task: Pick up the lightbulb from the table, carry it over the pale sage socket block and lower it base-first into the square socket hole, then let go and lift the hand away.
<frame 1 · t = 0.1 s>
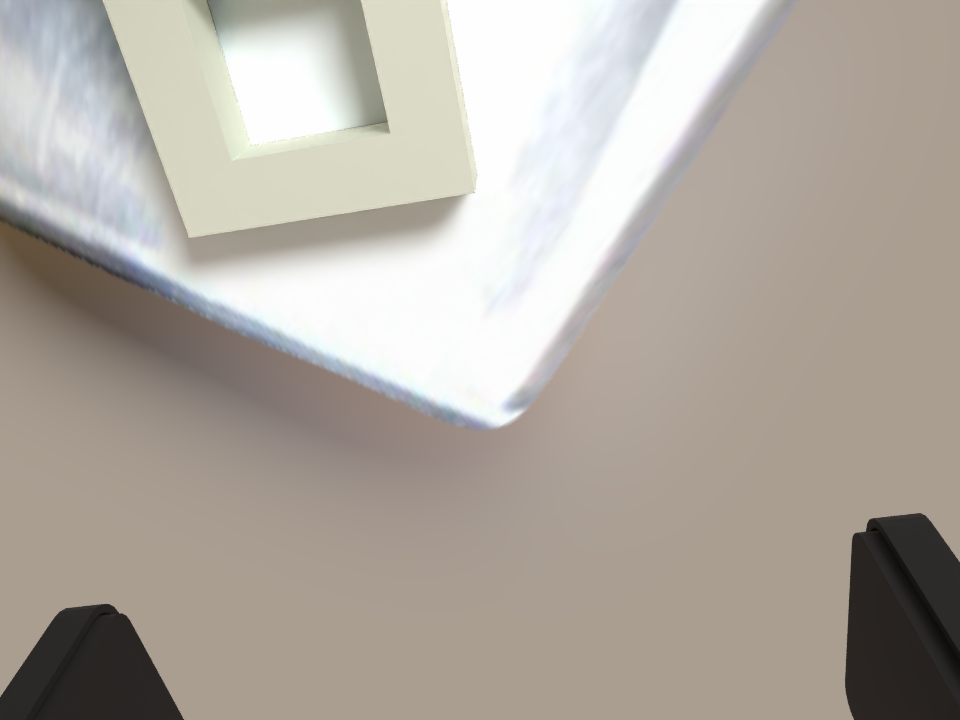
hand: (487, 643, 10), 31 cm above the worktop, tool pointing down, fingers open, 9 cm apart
socket block: (303, 51, 36), on the worktop
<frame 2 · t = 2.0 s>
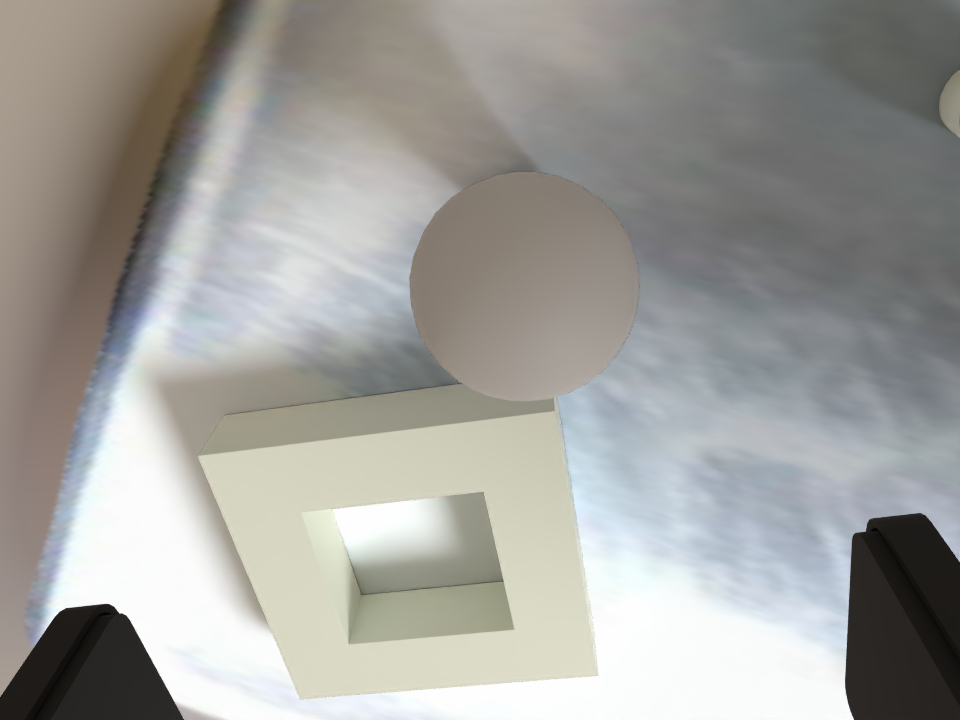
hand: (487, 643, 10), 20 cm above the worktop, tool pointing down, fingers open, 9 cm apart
lightbulb: (525, 200, 28), on the worktop
socket block: (420, 526, 35), on the worktop
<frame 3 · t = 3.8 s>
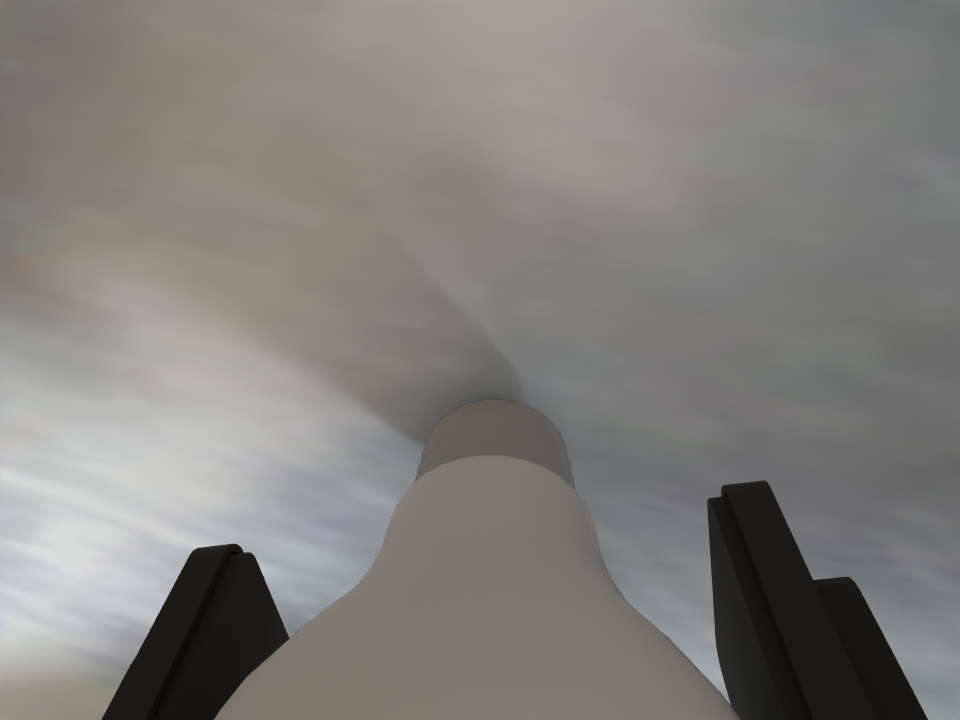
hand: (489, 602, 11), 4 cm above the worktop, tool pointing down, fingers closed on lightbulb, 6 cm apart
lightbulb: (496, 428, 15), on the worktop, touching gripper
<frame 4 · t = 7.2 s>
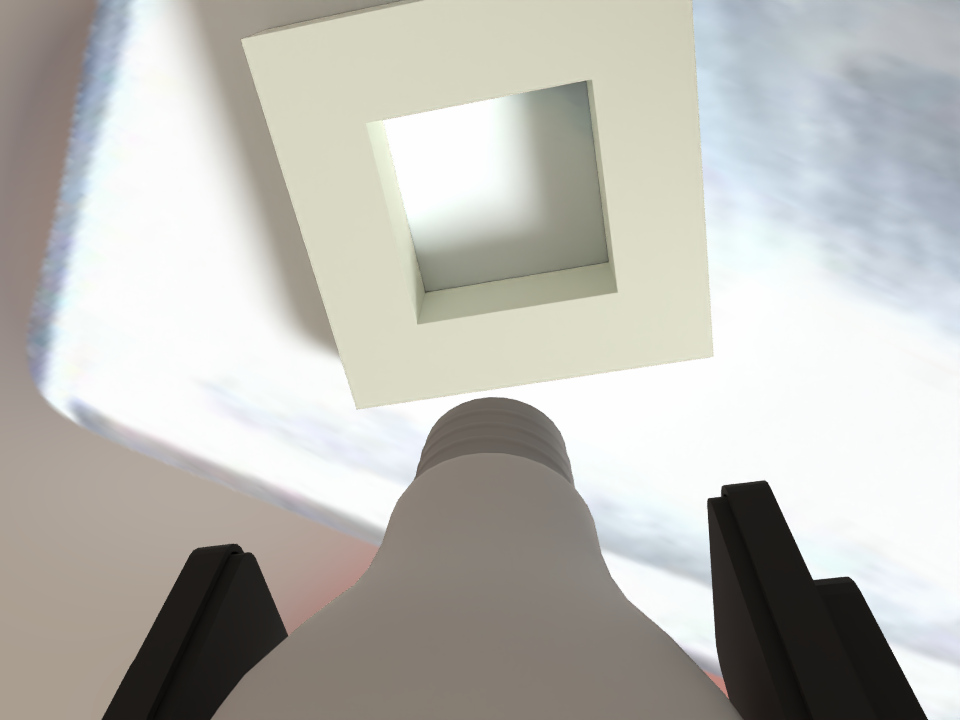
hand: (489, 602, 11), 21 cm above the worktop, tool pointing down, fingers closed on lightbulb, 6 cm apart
lightbulb: (496, 426, 15), point 17 cm above the worktop, touching gripper
socket block: (499, 187, 30), on the worktop
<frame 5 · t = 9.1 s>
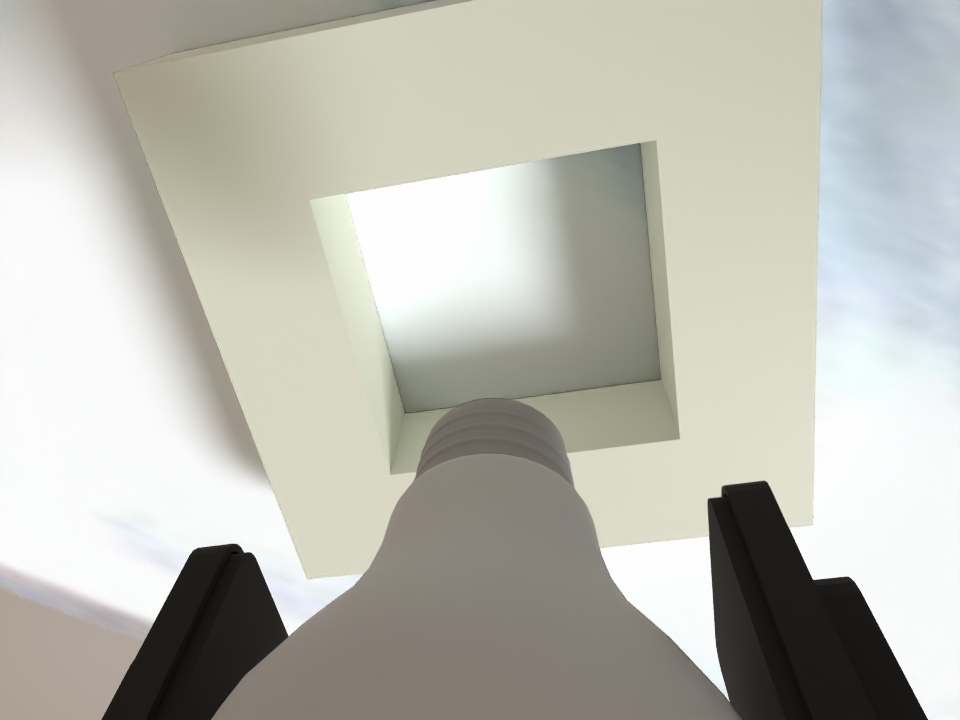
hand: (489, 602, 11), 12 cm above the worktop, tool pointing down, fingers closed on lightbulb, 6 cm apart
lightbulb: (496, 427, 14), point 7 cm above the worktop, touching gripper
socket block: (509, 278, 21), on the worktop
when the fingers open (5 cm above the worktop, at t = 10.8 s): lightbulb drops 1 cm, resting in socket block.
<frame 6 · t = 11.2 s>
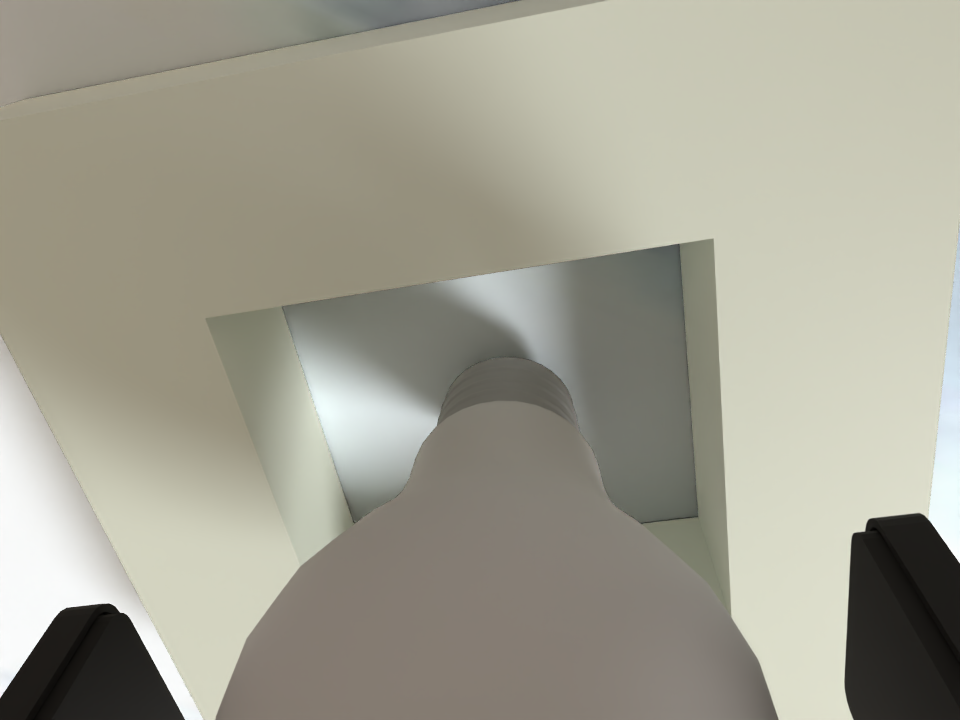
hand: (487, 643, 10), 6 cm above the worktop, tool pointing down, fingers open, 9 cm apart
lightbulb: (509, 387, 16), resting in socket block
socket block: (497, 393, 16), on the worktop
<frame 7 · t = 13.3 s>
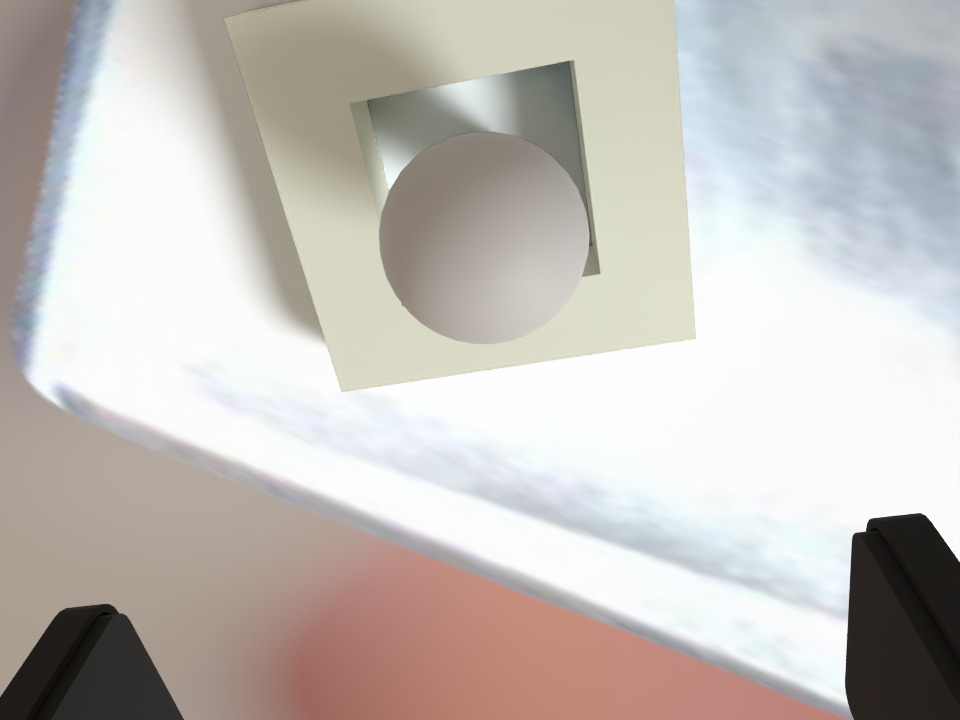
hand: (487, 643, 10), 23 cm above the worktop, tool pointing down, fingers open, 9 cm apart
lightbulb: (489, 168, 30), resting in socket block
socket block: (483, 170, 30), on the worktop
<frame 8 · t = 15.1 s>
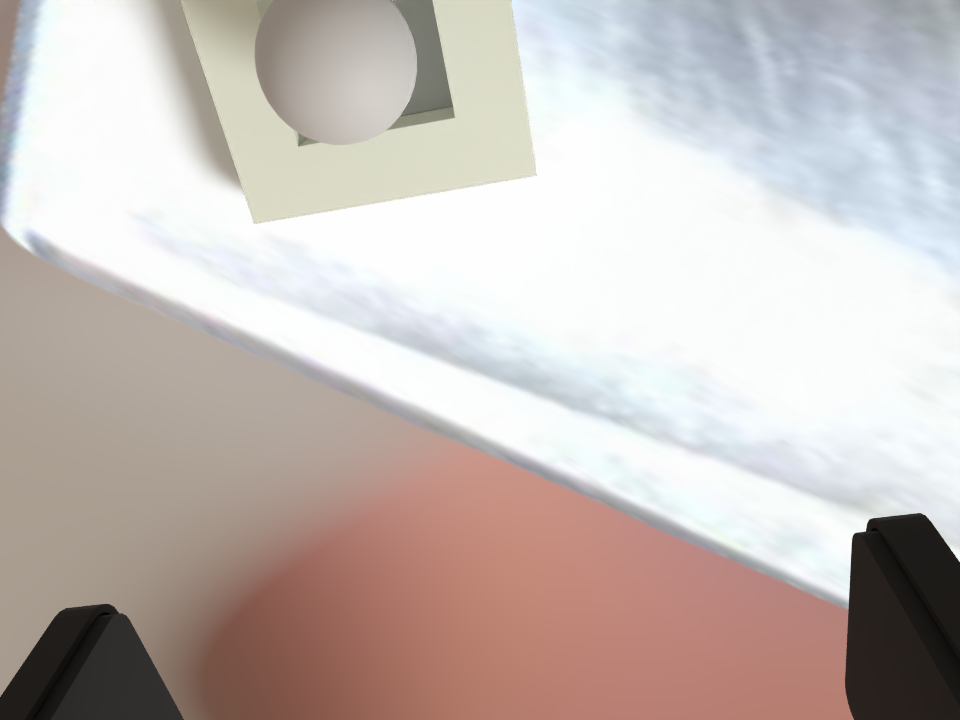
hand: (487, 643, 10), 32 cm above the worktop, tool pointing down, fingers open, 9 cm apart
lightbulb: (371, 38, 37), resting in socket block
socket block: (366, 39, 37), on the worktop
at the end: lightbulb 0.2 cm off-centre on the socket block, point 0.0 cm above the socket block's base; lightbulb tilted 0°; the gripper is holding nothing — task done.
